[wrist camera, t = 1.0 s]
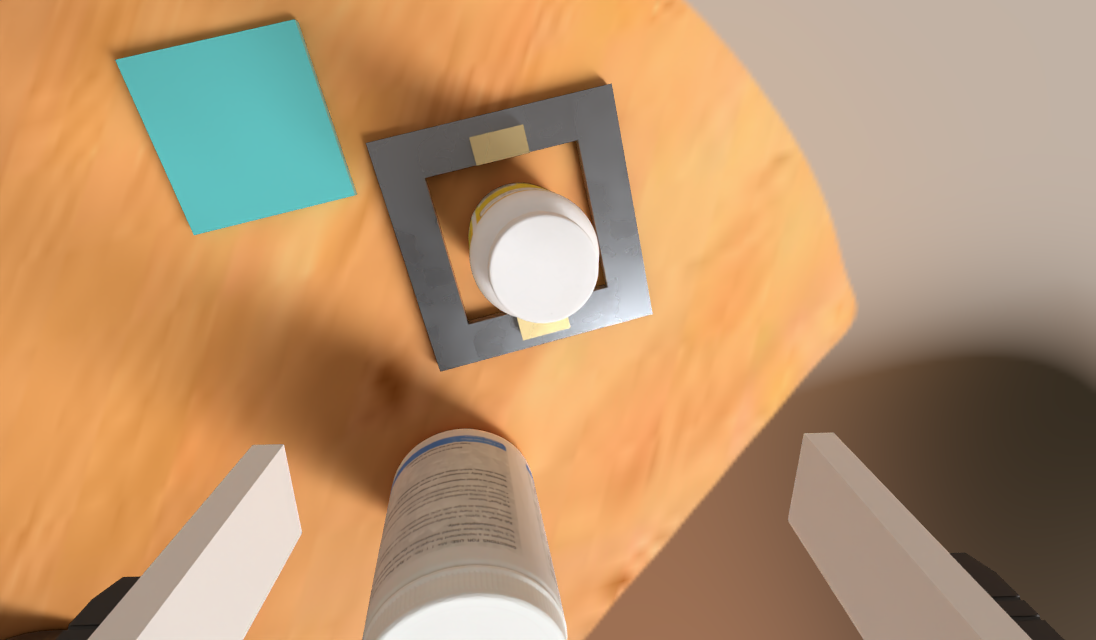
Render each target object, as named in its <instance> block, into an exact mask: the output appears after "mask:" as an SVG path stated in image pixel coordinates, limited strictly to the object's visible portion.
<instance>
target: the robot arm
mask: <svg viewBox="0 0 1096 640" xmlns="http://www.w3.org/2000/svg"><path fill="white" fill-rule="evenodd" d="M788 521H789V523H790V525H791V526H792V528H793V529H794V531H795V533H796V534H797V535H798V537H799V539H800V540H801V542H802V544H803V545H804V547H805V548H806V550H807V551H808V553H809V555H810V556H811V558H812V559H813V561H814V562H815V564H816V565H817V567H818V568H819V570H820V572H821V573H822V575H823V576H824V578H825V580H826V581H827V583H828V584H829V586H830V587H831V589H832V591H833V592H834V594H835V595H836V596H837V598H838V600H839V602H840V603H841V605H842V606H843V608H844V609H845V611H846V613H847V614H848V616H849V617H850V619H851V620H852V622H853V623H854V625H855V627H856V628H857V630H858V631H859V633H860V634H861V636H862V638H863V639H864V640H1064V639H1063V638H1062V637H1061V636H1060V635H1059V634H1058V633H1057V632H1056V631H1055V630H1054V629H1053V628H1052V627H1051V626H1050V625H1049V624H1048V623H1047V622H1046V621H1045V620H1041V619H1040V617H1039V614H1038V613H1036V611H1035V610H1034V609H1033V608H1032V607H1030V606H1029V605H1028V604H1027V603H1026V602H1025V601H1024V600H1020V598H1019V595H1018V594H1017V593H1016V592H1015V591H1014V590H1013V589H1012V588H1011V587H1010V586H1009V585H1008V584H1007V583H1006V582H1005V581H1004V580H1003V579H1002V578H1001V577H1000V576H999V575H998V574H997V573H996V572H994V571H993V570H991V569H990V568H988V567H987V566H985V565H983V564H982V563H980V562H979V561H977V560H976V559H974V558H973V557H971V556H970V555H968V554H966V553H948V552H947V550H946V549H945V548H944V547H943V546H942V545H941V544H940V543H939V542H938V541H937V540H936V539H935V538H934V537H933V536H932V535H931V534H930V533H929V532H928V531H927V530H926V529H925V528H924V527H923V526H922V524H921V523H920V522H919V521H918V520H917V519H916V518H915V517H914V516H913V515H912V514H911V513H910V512H909V511H908V510H907V509H906V508H905V507H904V506H903V505H902V504H901V503H900V502H899V500H898V499H897V498H896V497H895V496H894V495H893V494H892V493H891V492H890V491H889V490H888V489H887V488H886V487H885V486H884V485H883V484H882V483H881V482H880V481H879V480H878V479H877V478H876V476H875V475H874V474H873V473H872V472H871V471H870V470H869V469H868V468H867V467H866V466H865V465H864V464H863V463H862V462H861V461H860V460H859V459H858V458H857V457H856V456H855V455H854V454H853V453H852V451H851V450H850V449H849V448H848V447H847V446H845V444H844V443H843V442H842V441H841V440H840V439H839V438H838V437H837V436H836V435H835V434H834V433H804V437H803V441H802V447H801V452H800V457H799V463H798V468H797V474H796V479H795V485H794V490H793V495H792V501H791V506H790V512H789V517H788ZM301 534H302V530H301V525H300V521H299V516H298V511H297V506H296V501H295V496H294V491H293V486H292V482H291V477H290V472H289V467H288V462H287V457H286V452H285V447H284V444H276V445H252V446H251V448H250V449H249V450H248V451H247V452H246V453H245V455H244V456H243V457H242V458H241V459H240V461H239V462H238V463H237V464H236V465H235V466H234V468H233V469H232V470H231V471H230V472H229V473H228V475H227V476H226V477H225V478H224V479H223V481H222V482H221V483H220V484H219V485H218V486H217V488H216V489H215V490H214V491H213V492H212V494H211V495H210V496H209V497H208V498H207V499H206V501H205V502H204V503H203V504H202V505H201V506H200V508H199V509H198V510H197V511H196V512H195V514H194V515H193V516H192V517H191V518H190V519H189V521H188V522H187V523H186V524H185V525H184V526H183V528H182V529H181V530H180V531H179V532H178V534H177V535H176V536H175V537H174V538H173V539H172V541H171V542H170V543H169V544H168V545H167V547H166V548H165V549H164V550H163V551H162V552H161V554H160V555H159V556H158V557H157V558H156V559H155V561H154V562H153V563H152V564H151V565H150V567H149V568H148V569H147V570H146V571H145V572H144V574H143V575H142V576H141V577H122V578H121V579H120V580H118V581H117V582H115V583H114V584H113V585H111V586H110V587H109V588H107V589H106V590H104V591H103V592H102V593H100V594H99V595H97V596H96V597H95V598H93V599H92V600H91V601H90V602H89V603H88V604H87V606H86V607H85V608H84V609H83V610H82V611H81V612H80V613H79V614H78V615H77V616H76V618H75V619H74V620H73V621H72V622H71V623H70V624H69V627H68V629H67V630H49V631H39V632H32V633H27V634H23V635H19V636H15V637H12V638H9V639H6V640H243V639H244V637H245V635H246V634H247V632H248V630H249V628H250V626H251V624H252V623H253V621H254V619H255V617H256V615H257V614H258V612H259V610H260V608H261V606H262V605H263V603H264V601H265V599H266V597H267V595H268V594H269V592H270V590H271V588H272V586H273V585H274V583H275V581H276V579H277V577H278V575H279V574H280V572H281V570H282V568H283V566H284V565H285V563H286V561H287V559H288V557H289V556H290V554H291V552H292V550H293V548H294V546H295V545H296V543H297V541H298V539H299V537H300V536H301Z"/></svg>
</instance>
